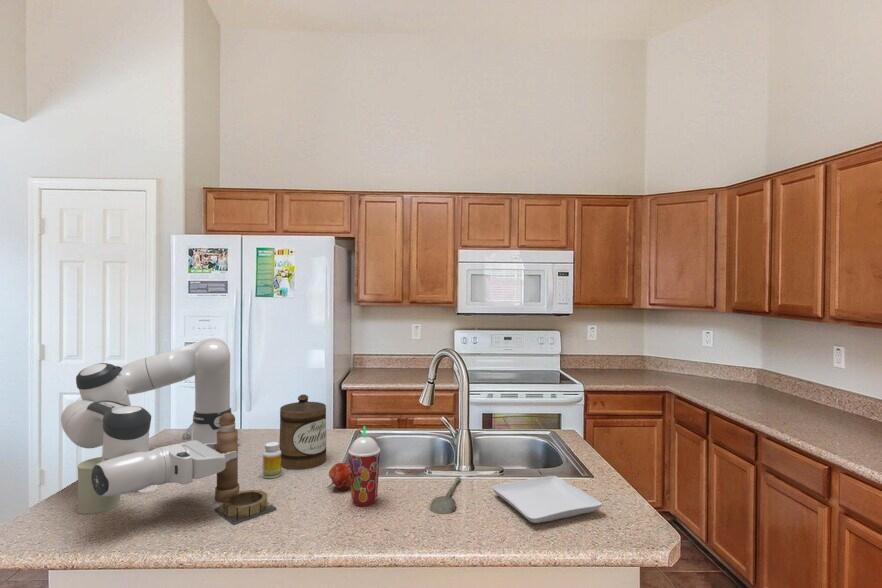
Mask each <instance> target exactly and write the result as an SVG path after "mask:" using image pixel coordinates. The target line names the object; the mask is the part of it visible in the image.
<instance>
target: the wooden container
mask: <svg viewBox="0 0 882 588" xmlns="http://www.w3.org/2000/svg"><path fill="white" fill-rule="evenodd" d="M297 400H298V401H296V402H291V403H287V404H284V405H282V406H280V409H279V417H280V419H279V448H278V449H279V450H280V451H281V468H282V467H283V468H284V469H289V470H307V469H312V468H315V467H318V466H320V465H322V464H324V463H325V462H326V460H327V406H326V404H325V403H323V402H318V401H309V396H308V395H307V394H300V395H299V396H297ZM306 468H307V469H306Z"/></svg>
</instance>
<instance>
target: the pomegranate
mask: <svg viewBox="0 0 882 588" xmlns="http://www.w3.org/2000/svg"><path fill="white" fill-rule="evenodd" d="M328 476H329V478H330V479H331V484H329V485H327V488H330V487H331V486H333V485H335V486H336V487H337V488H338V489H339V490H341V491H342V490H347V489H349V488H351V482H350V466H349V464H348V463H345V462H338V463H336V464H334V465H333V466H332V467H331V468H330V469H329V472H328Z"/></svg>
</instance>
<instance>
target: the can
mask: <svg viewBox="0 0 882 588" xmlns="http://www.w3.org/2000/svg"><path fill="white" fill-rule="evenodd" d="M101 461H102V456H99V457H94V458H89V459H86V460H84V461H82V462H79V463H78V464H77V466H76V467H77V490H78V491H77V513H79V514H82V515H94V514H99V513H103V512H104V513H105V512H107V511H109V510H112V509H114V508H117V507H118V506H119V505H120V504H121V502H122V500H121V495H114V496H99V495H98V494H97V493H96V492H95V490H94V488H93V484H92V480H91V475H92V470H93V467H94V466H95V465H96V464H98V463H100V462H101Z"/></svg>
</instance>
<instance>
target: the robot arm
mask: <svg viewBox="0 0 882 588" xmlns="http://www.w3.org/2000/svg"><path fill="white" fill-rule="evenodd" d="M192 377H194V387H195V388H194V391H195V392H194V395H195V397H194V398H195V399H194V400H195V402H194V404H195V405H194V408H195V409H194V411H193V414H192V423H191V424H190V425H189V427H187V429H185V430H186V431H185V432H183V433H182V436H181V437H182V441H181V442H179V443H173V444H170V445H164V446H159V447H156V448H153V449H152V450H149V451H148V445H149V446H150V429H151V422H152V415H151V413H150V412H149V411H148V410H147V409H145V408H144V407H142V406H137V405H131V400H130V397H129V396H131V395H137V394H142V393H146V392H149V391H154V390H157V389H161V388H164V387H166V386H171V385H172V384H173V385H175V384H176V383H179V382H182V381H185V380H186V379H189V378H192ZM75 383H76V388H77V389H78V390H79V394H80V398H81V400H76V401H74V402H72V403H70V404H69V405H67V406H66V407H65V408H64V409H63V411H62V413H61V416H60V422H61V423H60V424H61V427H62V430H63V432H64V434H65V436H66V437H67V438H69V440H70V441H71V442H72V443H73V444H74V445H76V446H78V447H79V448H84V449H96V448H99V447H102V454H101V455H102V456H101V457H102V461H101V462H100V463H98V464H96V465H95V466H94V467H93V470H92V475H91V480H92V484H93V488H94V490H95V492H96V493H97V494H98V495H99V496H114V495H120V496H121V495H125V494H130V493H134V492H139V490H142V489H144V488H146V487H148V486H151V485H157V486H162V485H164V484H172V483H176V484H181V485H188V484H191V483H192V482H193V480H197V479H203V478H206V477H210V476H213V475H215V474H216V475H217V473H219V472H221V471H223V470H224V469H225V468H226V462H228V461H229V460H231V459H234V458H237V451H235V450H232V451H228V453H225V454H224V453H223V454H221V453H219V452H217V431H219V424H220V423H219V419H220V417H221V416H222V415H223V414H224V413H231V414H233V413H232V408H231V352H230V349H229V346H228V344H227V343H226V342H225V341H224V340H222V339H220V338H217V337H210V338H207V339H203V340H199V341H196V342H193V343H191V344H188V345H185V346H180V347H178V348H175V349H172V350H169V351H165V352H161V353H158V354H154V355H151V356H148V357H147V356H146V357H144V358H141V359H137V360H134V361H132V362H129V363H127V364H125V365H123V366H118V365H114V364H111V363H107V362H100V363H95V364H91V365H90V366H86V367H85V368H83V369H82V370H80V371H79V372H78V374H77V375H76V377H75ZM240 444H241V443H240V441H239V440H238V446H239V445H240Z"/></svg>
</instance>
